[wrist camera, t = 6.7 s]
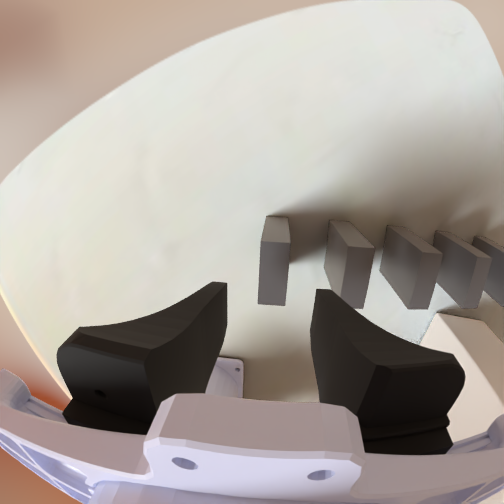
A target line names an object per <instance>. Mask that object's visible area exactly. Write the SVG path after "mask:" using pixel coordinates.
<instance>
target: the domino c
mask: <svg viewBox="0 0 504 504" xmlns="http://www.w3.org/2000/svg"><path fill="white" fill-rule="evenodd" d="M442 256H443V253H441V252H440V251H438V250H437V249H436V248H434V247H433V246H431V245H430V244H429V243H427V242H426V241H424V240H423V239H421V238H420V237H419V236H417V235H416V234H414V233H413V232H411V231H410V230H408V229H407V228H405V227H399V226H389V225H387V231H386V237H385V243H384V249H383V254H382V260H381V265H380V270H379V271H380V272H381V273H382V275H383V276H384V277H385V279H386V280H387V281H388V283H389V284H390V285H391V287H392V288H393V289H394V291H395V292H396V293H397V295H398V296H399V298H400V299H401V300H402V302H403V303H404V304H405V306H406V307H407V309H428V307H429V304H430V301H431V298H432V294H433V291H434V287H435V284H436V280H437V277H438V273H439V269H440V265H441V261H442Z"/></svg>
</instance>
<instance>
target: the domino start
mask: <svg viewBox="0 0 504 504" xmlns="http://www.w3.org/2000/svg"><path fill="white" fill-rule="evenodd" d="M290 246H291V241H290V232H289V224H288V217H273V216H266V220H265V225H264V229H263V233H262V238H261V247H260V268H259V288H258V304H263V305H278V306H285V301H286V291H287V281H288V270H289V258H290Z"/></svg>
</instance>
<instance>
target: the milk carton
mask: <svg viewBox="0 0 504 504" xmlns="http://www.w3.org/2000/svg"><path fill="white" fill-rule="evenodd" d="M419 345H420V346H423V347H426V348H430V349H434V350H438V351H443V352H447V353H452V354H454V356H455V357H456V359H457V360H458V362H459V363H460V365H461V366H462V368H463V369H464V371H465V376H466V378H465V383H464V387H463V389H462V391H461V393H460V395H459V397H458V398H457V400H456V401H455V403H454V404H453V406H452V408H451V409H450V411H449V412H448V414H447V416H448V418H449V420H450V425H449V426H448V427H446V428H447V430H448V432H449V435H450V437H451V440H452V442H456V441H459V440H463V439H466V438H469V437H472V436H475V435H477V434H480V433H483V432H486V431H487V430H488V428H489V427H490V425H491V424H492V423H493V421H494V420H495V419H496V418H497V417H499V416H500V415H502V414H504V344H503V343H502V342H501V340H500V339H499V338H498V337H497V336H496V335H495V334H494V333H493V332H492V330H491V329H490V328H489V327H488V326H487V325H486V324H485V323H484V322H483V321H481V320H475V319H469V318H463V317H458V316H452V315H447V314H441V313H436V314H435V316H434V318H433V320H432V322H431V324H430V326H429V328H428V330H427V331H426V333H425V335H424V337H423V339H422V341H421V343H420V344H419ZM478 504H504V489H503V490H502V491H500V492H498V493H496V494H495V495H493V496H491V497H489V498H487V499H485V500H484V501H482V502H480V503H478Z"/></svg>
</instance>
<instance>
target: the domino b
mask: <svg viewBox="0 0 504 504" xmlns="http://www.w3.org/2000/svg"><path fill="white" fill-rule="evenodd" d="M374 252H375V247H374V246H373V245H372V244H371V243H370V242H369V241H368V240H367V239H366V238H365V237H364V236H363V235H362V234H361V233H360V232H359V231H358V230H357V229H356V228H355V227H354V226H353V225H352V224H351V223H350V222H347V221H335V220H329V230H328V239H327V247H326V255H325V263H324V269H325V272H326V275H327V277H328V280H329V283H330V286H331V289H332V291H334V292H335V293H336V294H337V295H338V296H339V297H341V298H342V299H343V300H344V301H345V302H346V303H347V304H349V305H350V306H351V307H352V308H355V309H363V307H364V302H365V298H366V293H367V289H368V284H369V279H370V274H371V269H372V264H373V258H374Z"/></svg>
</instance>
